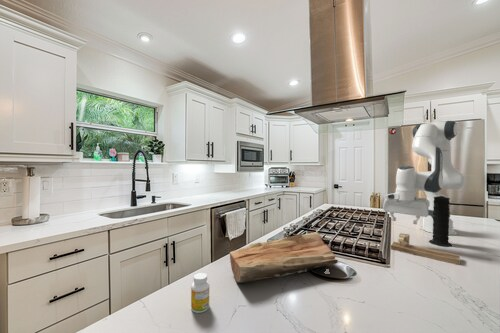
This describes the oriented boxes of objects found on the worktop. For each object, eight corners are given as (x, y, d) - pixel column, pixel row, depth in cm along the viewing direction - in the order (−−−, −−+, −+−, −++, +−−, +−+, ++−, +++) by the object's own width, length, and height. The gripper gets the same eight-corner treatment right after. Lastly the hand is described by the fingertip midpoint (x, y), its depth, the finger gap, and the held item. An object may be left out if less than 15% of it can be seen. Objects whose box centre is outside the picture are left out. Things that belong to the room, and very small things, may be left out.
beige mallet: (400, 243, 126) (400, 232, 126) (409, 245, 123) (409, 234, 123) (395, 249, 117) (396, 238, 117) (405, 251, 115) (405, 239, 114)
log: (320, 256, 106) (314, 224, 106) (347, 270, 90) (340, 232, 90) (232, 286, 93) (226, 250, 93) (245, 309, 76) (237, 265, 76)
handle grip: (457, 247, 121) (443, 240, 131) (458, 197, 121) (444, 194, 131) (437, 246, 122) (424, 240, 132) (438, 197, 122) (425, 194, 132)
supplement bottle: (192, 302, 72) (192, 271, 72) (210, 301, 72) (210, 271, 72) (189, 313, 67) (189, 280, 66) (208, 313, 67) (208, 280, 67)
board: (394, 245, 124) (394, 241, 124) (459, 259, 106) (459, 255, 106) (390, 249, 118) (390, 245, 118) (459, 265, 100) (459, 260, 100)
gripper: (430, 198, 118) (429, 225, 118) (385, 194, 132) (384, 218, 132) (429, 199, 113) (428, 227, 113) (382, 195, 127) (381, 219, 127)
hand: (404, 222), depth 123 cm, fingers open, 8 cm apart
